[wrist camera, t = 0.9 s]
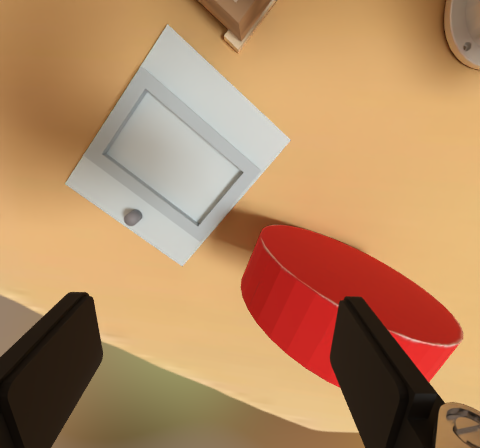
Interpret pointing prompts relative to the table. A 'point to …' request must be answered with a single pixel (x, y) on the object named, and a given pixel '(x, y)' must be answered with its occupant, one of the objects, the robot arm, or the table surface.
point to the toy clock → (338, 300)
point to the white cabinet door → (176, 150)
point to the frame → (236, 13)
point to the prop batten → (236, 43)
